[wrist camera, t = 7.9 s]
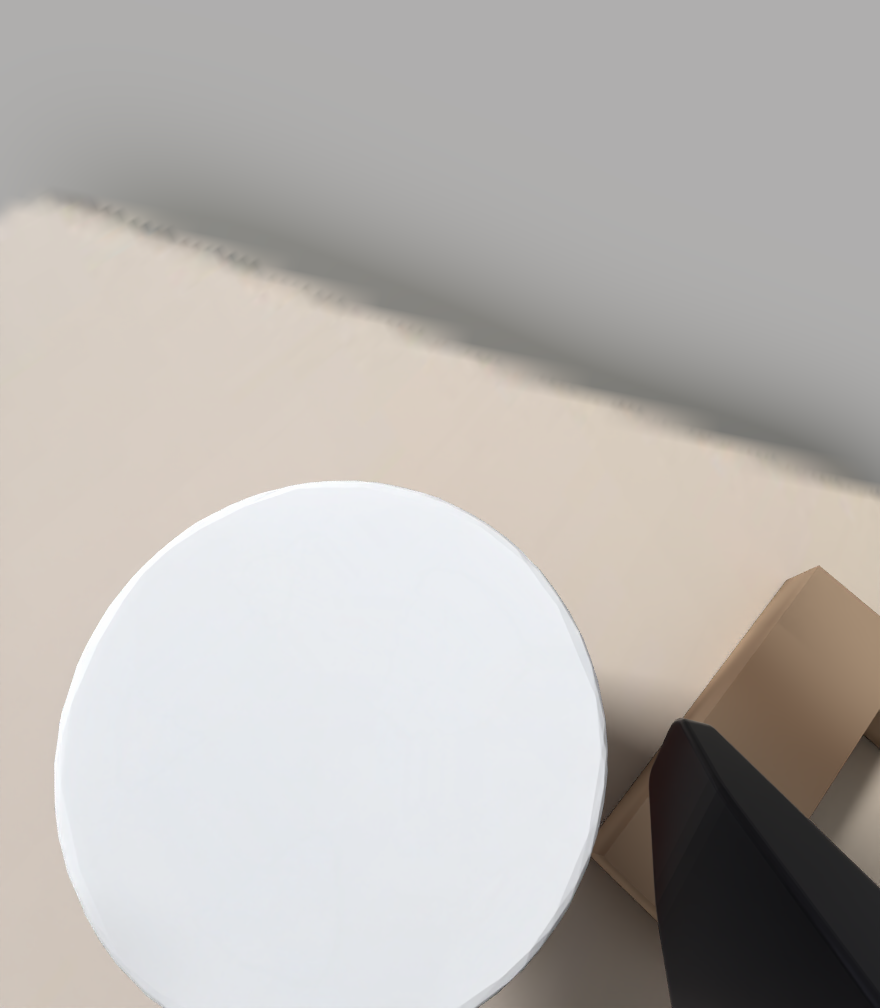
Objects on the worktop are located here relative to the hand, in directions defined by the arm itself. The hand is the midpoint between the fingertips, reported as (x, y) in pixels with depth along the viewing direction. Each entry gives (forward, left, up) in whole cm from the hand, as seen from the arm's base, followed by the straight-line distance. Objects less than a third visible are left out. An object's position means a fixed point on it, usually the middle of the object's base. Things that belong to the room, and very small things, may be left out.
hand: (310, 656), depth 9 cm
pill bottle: (-1, -1, -9) cm, 9 cm away
